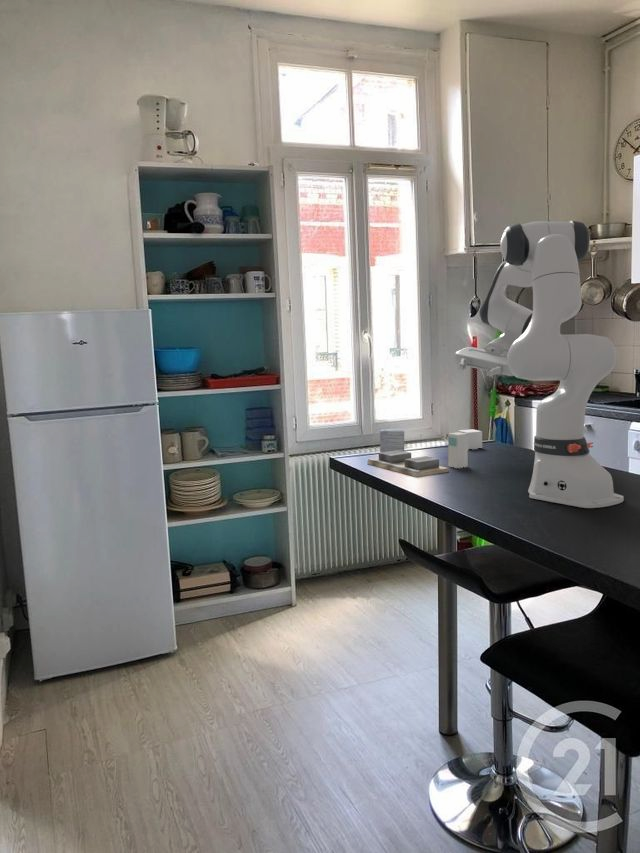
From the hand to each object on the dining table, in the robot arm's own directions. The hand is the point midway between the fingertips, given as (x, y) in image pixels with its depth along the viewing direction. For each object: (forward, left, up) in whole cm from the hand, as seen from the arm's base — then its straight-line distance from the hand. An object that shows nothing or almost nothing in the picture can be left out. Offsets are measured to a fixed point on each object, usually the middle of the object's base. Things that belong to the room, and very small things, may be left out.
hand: (474, 370), depth 208 cm
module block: (0, +6, -28) cm, 29 cm away
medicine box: (+26, +11, -29) cm, 40 cm away
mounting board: (+8, +19, -28) cm, 35 cm away
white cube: (+22, -19, -29) cm, 41 cm away
